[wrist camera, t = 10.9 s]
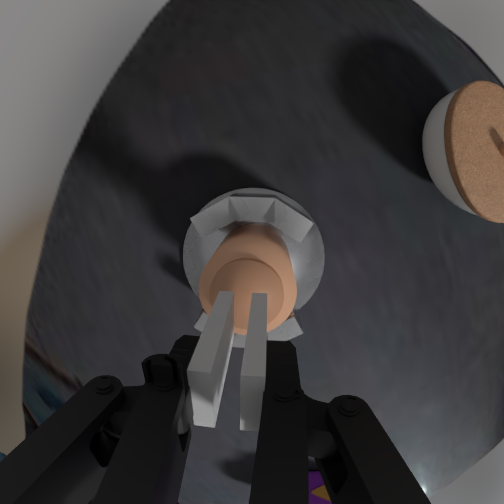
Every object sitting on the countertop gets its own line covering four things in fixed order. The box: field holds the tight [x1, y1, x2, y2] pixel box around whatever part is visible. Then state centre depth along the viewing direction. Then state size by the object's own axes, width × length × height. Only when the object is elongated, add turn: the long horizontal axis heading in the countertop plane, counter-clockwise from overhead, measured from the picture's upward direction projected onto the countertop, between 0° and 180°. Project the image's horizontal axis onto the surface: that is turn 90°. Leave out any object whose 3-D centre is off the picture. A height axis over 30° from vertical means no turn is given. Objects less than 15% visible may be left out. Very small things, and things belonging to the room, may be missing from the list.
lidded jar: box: [422, 80, 504, 223], centre depth 17 cm, size 11×11×9 cm
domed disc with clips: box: [183, 188, 325, 348], centre depth 23 cm, size 12×12×5 cm
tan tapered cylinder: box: [199, 224, 297, 335], centre depth 21 cm, size 6×6×8 cm
